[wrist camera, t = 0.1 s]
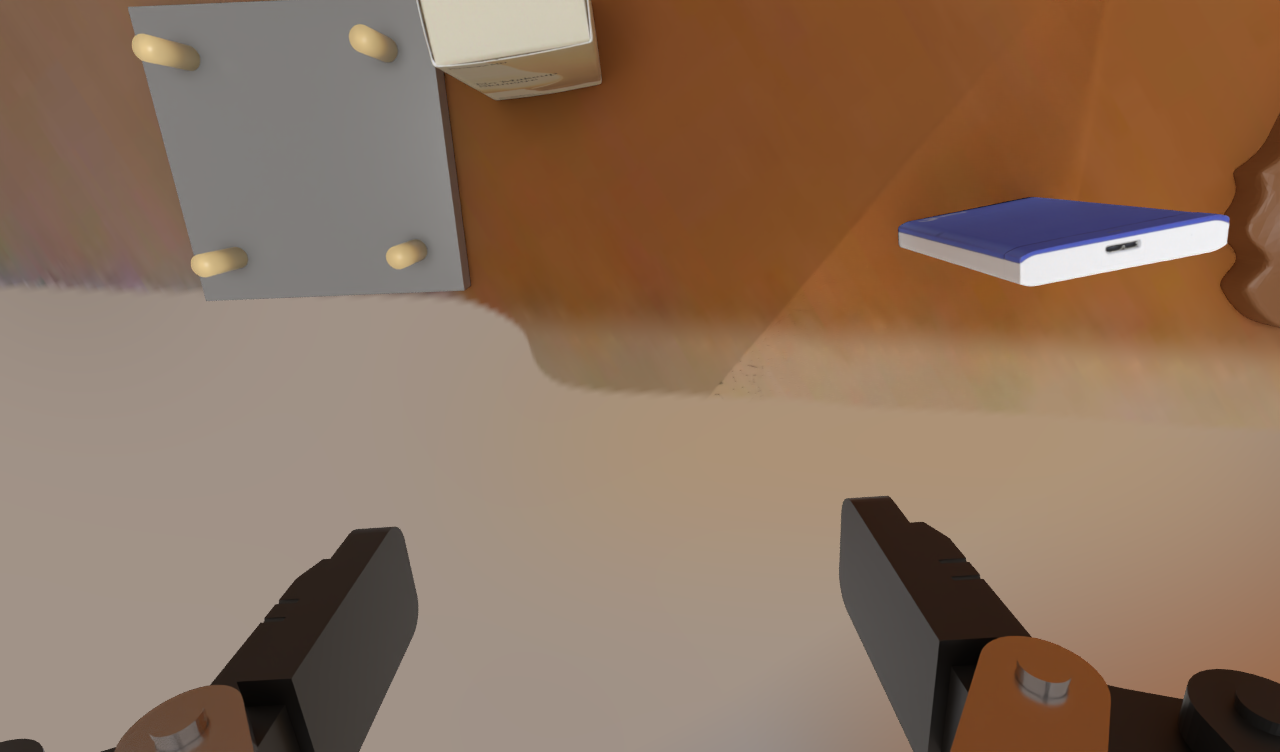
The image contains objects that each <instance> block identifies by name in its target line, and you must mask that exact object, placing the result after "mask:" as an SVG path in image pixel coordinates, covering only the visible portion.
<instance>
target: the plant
mask: <svg viewBox="0 0 1280 752" xmlns="http://www.w3.org/2000/svg"><path fill="white" fill-rule="evenodd" d="M1234 179H1235V183H1236V193H1235V197H1234V199H1233V201H1232V203H1231V205H1230V206H1229V208H1228V209H1227V211H1226V212H1225V214H1224V215H1226V216H1228V217H1229V219H1230V220H1229V229H1228V238H1227V242H1228V243H1229V244H1230V246H1231V247H1232V248H1233V249H1234V251H1235V253H1236V262H1235V263H1234V265H1233V266H1232V268H1231V269H1230V270H1229V271H1228V272H1227V274H1226V275H1225V276H1224V277H1223V279H1222V281H1221V284H1220V285H1221V288H1222V290H1223V292H1224V294H1225V296H1226V297H1227V299H1228V300H1229V302H1230V303H1231V304H1232V305H1233V306H1234V307H1235V309H1236V310H1238V311H1239V312H1240V313H1241V314H1242V315H1244V316H1245V317H1247V318H1249V319H1251V320H1254V321H1256V322H1260V323H1264V324H1268V325H1272V326H1276V327H1279V328H1280V114H1279V116H1278V118H1277V120H1276V122H1275V124H1274V126H1273V128H1272V130H1271V132H1270V134H1269V136H1268V138H1267V140H1266V141H1265V143H1264V144H1263V146H1262V147H1261V148H1260V149H1259V150H1258V152H1257V153H1256V154H1255V155H1254V156H1252V157H1251V158H1250V159H1249V160H1248V161H1247V162H1245V163H1244V164H1243V165H1241V166H1240V167H1239V168H1237V169H1236V170H1235V171H1234Z"/></svg>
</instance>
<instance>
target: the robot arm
mask: <svg viewBox="0 0 1280 752" xmlns="http://www.w3.org/2000/svg"><path fill="white" fill-rule="evenodd" d="M839 579H840V587H841V593H842V597H843V601H844V604H845V607H846V609H847V612H848V614H849V616H850V618H851V620H852V622H853V624H854V626H855V629H856V631H857V633H858V635H859V637H860V639H861V641H862V643H863V646H864V647H865V650H866V652H867V654H868V656H869V658H870V660H871V662H872V664H873V667H874V669H875V671H876V673H877V675H878V677H879V679H880V682H881V684H882V686H883V688H884V690H885V692H886V694H887V696H888V699H889V701H890V703H891V705H892V707H893V709H894V711H895V713H896V716H897V717H898V720H899V722H900V724H901V726H902V728H903V730H904V733H905V735H906V737H907V739H908V741H909V743H910V745H911V747H912V750H913V752H1280V684H1279V683H1277V682H1274V681H1271V680H1269V679H1266V678H1263V677H1259V676H1256V675H1253V674H1249V673H1245V672H1241V671H1234V670H1225V669H1212V670H1205V671H1201V672H1199V673H1197V674H1195V675H1193V676H1192V678H1191V679H1190V680H1189V682H1188V685H1187V688H1186V692H1185V695H1184V699H1178V698H1173V697H1167V696H1162V695H1156V694H1151V693H1145V692H1139V691H1134V690H1128V689H1123V688H1118V687H1114V686H1109V685H1107V684H1106V682H1105V681H1104V679H1103V678H1102V676H1101V675H1100V674H1099V673H1098V672H1097V671H1096V670H1095V669H1094V668H1093V667H1092V666H1091V665H1090V664H1089V663H1088V662H1086V661H1085V660H1084V659H1082V658H1081V657H1079V656H1078V655H1076V654H1074V653H1073V652H1071V651H1069V650H1067V649H1065V648H1063V647H1061V646H1059V645H1056V644H1054V643H1051V642H1048V641H1045V640H1041V639H1038V638H1032V637H1031V636H1030V634H1029V633H1028V632H1027V631H1026V630H1025V629H1024V627H1023V626H1022V625H1021V624H1020V622H1019V621H1018V620H1017V619H1016V618H1015V617H1014V615H1013V614H1012V613H1011V612H1010V610H1009V609H1008V608H1007V607H1006V606H1005V605H1004V603H1003V602H1002V601H1001V600H1000V598H999V597H998V596H997V595H996V594H995V592H994V591H993V590H992V589H991V588H990V586H989V585H988V584H987V583H986V582H985V580H984V579H980V575H979V573H978V572H977V571H976V570H975V568H974V567H973V566H972V565H971V564H970V562H966V558H965V556H964V555H963V554H962V553H961V552H960V550H959V549H958V548H957V547H956V546H955V544H954V543H953V542H952V541H951V540H950V538H948V537H947V536H945V535H943V534H942V533H940V532H939V531H937V530H935V529H934V528H932V527H931V526H929V525H927V524H926V523H924V522H914V523H910V522H909V521H908V520H907V519H906V517H905V516H904V514H903V513H902V512H901V510H900V509H899V508H898V506H897V505H896V504H895V503H894V501H893V500H892V499H891V498H890V497H889V496H878V497H862V498H847V499H845V500H844V502H843V505H842V513H841V538H840V563H839ZM417 599H418V598H417V593H416V589H415V585H414V580H413V575H412V571H411V567H410V562H409V557H408V553H407V548H406V544H405V539H404V536H403V534H402V532H401V530H400V529H399V528H398V527H384V528H369V529H356V530H353V531H352V532H351V533H350V534H349V535H348V536H347V538H346V539H345V540H344V542H343V543H342V544H341V546H340V547H339V548H338V549H337V551H336V552H335V553H334V555H333V556H332V557H331V559H323V560H321V561H320V562H319V563H317V564H316V565H315V566H313V567H312V568H310V569H309V570H308V571H306V572H305V573H303V574H302V575H301V576H299V577H298V578H297V579H296V580H295V581H294V582H293V583H292V585H291V586H290V587H289V588H288V590H287V591H286V592H285V593H284V595H283V596H282V597H281V598H280V600H279V604H276V605H275V606H274V607H273V608H272V609H271V611H270V612H269V613H268V614H267V616H266V617H265V621H264V623H260V624H259V626H258V627H257V628H256V629H255V630H254V632H253V633H252V634H251V636H250V637H249V638H248V639H247V640H246V642H245V643H244V644H243V645H242V647H241V648H240V649H239V650H238V651H237V653H236V654H235V655H234V656H233V658H232V659H231V660H230V661H229V663H228V664H227V665H226V666H225V668H224V669H223V670H222V671H221V673H220V674H219V675H218V676H217V677H216V679H215V680H214V681H213V682H212V684H211V685H210V686H204V687H199V688H196V689H193V690H189V691H187V692H184V693H182V694H179V695H177V696H175V697H173V698H171V699H169V700H167V701H165V702H164V703H162V704H160V705H159V706H157V707H155V708H154V709H152V710H151V711H149V712H148V713H147V714H145V715H144V716H143V717H142V718H140V719H139V720H138V721H137V722H136V723H135V724H134V725H133V726H132V727H131V728H130V729H129V730H128V731H127V732H126V733H125V735H124V736H123V737H122V738H121V740H120V741H119V743H118V745H117V747H115V748H112V749H108V750H105V751H102V752H359V751H360V749H361V746H362V744H363V742H364V740H365V738H366V736H367V733H368V731H369V729H370V727H371V725H372V723H373V721H374V718H375V716H376V714H377V712H378V710H379V708H380V706H381V704H382V701H383V699H384V697H385V695H386V693H387V690H388V688H389V686H390V684H391V682H392V680H393V678H394V676H395V674H396V671H397V669H398V667H399V665H400V663H401V660H402V658H403V656H404V654H405V652H406V650H407V648H408V646H409V643H410V641H411V639H412V637H413V635H414V632H415V629H416V625H417V619H418V600H417ZM0 752H45V751H44V749H43V748H42V746H41V745H40V743H38V742H36V741H34V740H30V739H15V740H9V741H4V742H0Z"/></svg>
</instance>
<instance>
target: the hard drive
mask: <svg viewBox="0 0 1280 752" xmlns="http://www.w3.org/2000/svg"><path fill="white" fill-rule="evenodd" d="M1229 220H1230V219H1229V217H1228V216H1226V215H1220V214H1211V213H1199V212H1193V213H1192V212H1182V211H1173V210H1164V209H1153V208H1142V207H1133V206H1122V205H1111V204H1101V203H1090V202H1080V201H1070V200H1059V199H1049V198H1038V197H1027V198H1022V199H1017V200H1012V201H1007V202H1002V203H998V204H993V205H988V206H982V207H978V208H973V209H968V210H963V211H959V212H954V213H948V214H943V215H938V216H933V217H928V218H924V219H919V220H914V221H909V222H906V223H904V224H902V225H900V226H899V227H898V241H899V246H900V247H902V248H906V249H909V250H912V251H915V252H919V253H922V254H925V255H928V256H931V257H934V258H938V259H941V260H944V261H947V262H950V263H954V264H957V265H960V266H964V267H967V268H970V269H973V270H976V271H979V272H982V273H986V274H989V275H992V276H995V277H998V278H1002V279H1005V280H1008V281H1011V282H1015V283H1018V284H1021V285H1024V286H1038V285H1043V284H1048V283H1053V282H1058V281H1063V280H1069V279H1073V278H1078V277H1084V276H1089V275H1094V274H1098V273H1104V272H1110V271H1115V270H1120V269H1124V268H1129V267H1135V266H1140V265H1145V264H1151V263H1156V262H1161V261H1167V260H1172V259H1177V258H1182V257H1187V256H1193V255H1198V254H1203V253H1208V252H1212V251H1215V250H1217V249H1220V248H1222V247H1223V246H1225V245H1226V244H1227V238H1228V229H1229Z"/></svg>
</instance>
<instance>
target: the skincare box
mask: <svg viewBox="0 0 1280 752" xmlns="http://www.w3.org/2000/svg"><path fill="white" fill-rule="evenodd" d="M416 2H417V6H418V11H419V15H420V19H421V23H422V27H423V32H424V36H425V40H426V43H427V47H428V50H429V54H430V58H431V62H432V65H433V66H434V67H436V68H438V69H440V70H442V71H444V72H446V73H447V74H449V75H451V76H453V77H455V78H456V79H458V80H460V81H462V82H464V83H465V84H467V85H469V86H470V87H472V88H474V89H476V90H478V91H480V92H481V93H483V94H485V95H487V96H488V97H490V98H492V99H494V100H504V99H514V98H523V97H530V96H538V95H544V94H551V93H557V92H562V91H567V90H573V89H578V88H583V87H589V86H594V85H599V84H601V83H602V77H601V69H600V61H599V53H598V45H597V38H596V30H595V23H594V17H593V10H592V3H591V0H416Z"/></svg>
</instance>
